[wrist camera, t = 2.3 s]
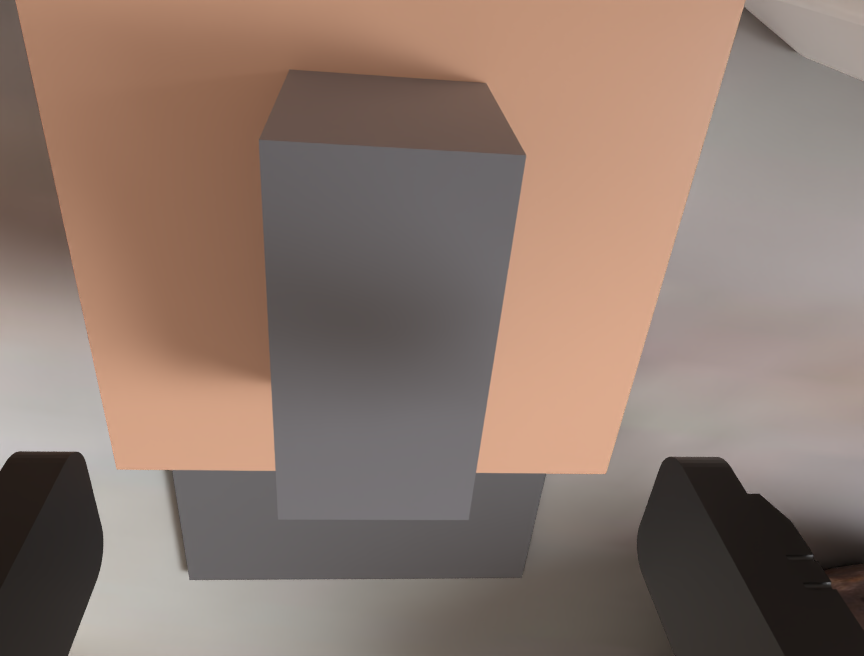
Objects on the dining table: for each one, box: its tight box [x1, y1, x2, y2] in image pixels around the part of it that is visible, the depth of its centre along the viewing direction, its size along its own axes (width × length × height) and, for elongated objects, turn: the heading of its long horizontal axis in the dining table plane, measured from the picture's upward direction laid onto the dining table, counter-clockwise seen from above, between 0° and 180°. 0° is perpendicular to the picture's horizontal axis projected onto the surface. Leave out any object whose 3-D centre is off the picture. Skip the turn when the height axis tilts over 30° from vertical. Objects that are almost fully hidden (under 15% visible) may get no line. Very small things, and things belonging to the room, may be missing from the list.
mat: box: [172, 470, 546, 580], centre depth 32 cm, size 17×15×1 cm
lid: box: [15, 0, 746, 520], centre depth 15 cm, size 14×14×7 cm
